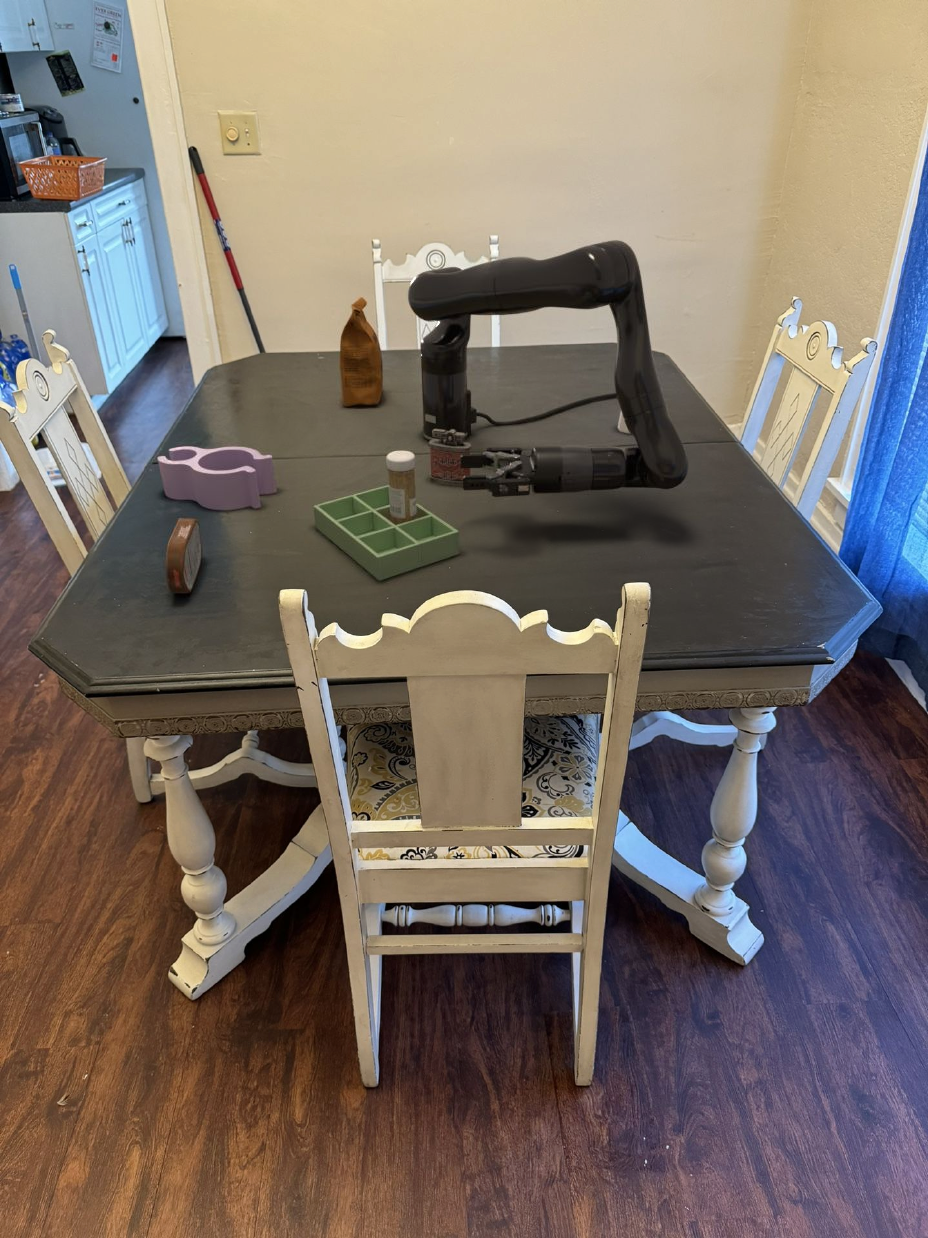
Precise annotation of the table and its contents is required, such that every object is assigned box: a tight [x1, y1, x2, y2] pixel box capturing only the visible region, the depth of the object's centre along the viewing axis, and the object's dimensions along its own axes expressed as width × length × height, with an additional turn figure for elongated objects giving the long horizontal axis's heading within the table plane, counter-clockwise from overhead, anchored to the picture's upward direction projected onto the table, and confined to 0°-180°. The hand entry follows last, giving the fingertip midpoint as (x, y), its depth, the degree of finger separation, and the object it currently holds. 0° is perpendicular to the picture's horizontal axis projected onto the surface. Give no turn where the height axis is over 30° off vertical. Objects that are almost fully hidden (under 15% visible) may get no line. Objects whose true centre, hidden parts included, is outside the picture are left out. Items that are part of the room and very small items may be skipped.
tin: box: [165, 517, 203, 595], centre depth 132 cm, size 15×3×8 cm, turn 5°
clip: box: [156, 445, 278, 511], centre depth 158 cm, size 20×12×7 cm, turn 75°
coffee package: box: [339, 297, 384, 407], centre depth 197 cm, size 10×12×22 cm
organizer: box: [312, 484, 460, 581], centre depth 143 cm, size 15×22×4 cm
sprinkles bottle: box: [385, 450, 417, 525], centre depth 142 cm, size 5×5×13 cm
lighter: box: [428, 429, 472, 487], centre depth 161 cm, size 8×3×10 cm, turn 71°
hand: (461, 471), depth 140 cm, fingers open, 8 cm apart
